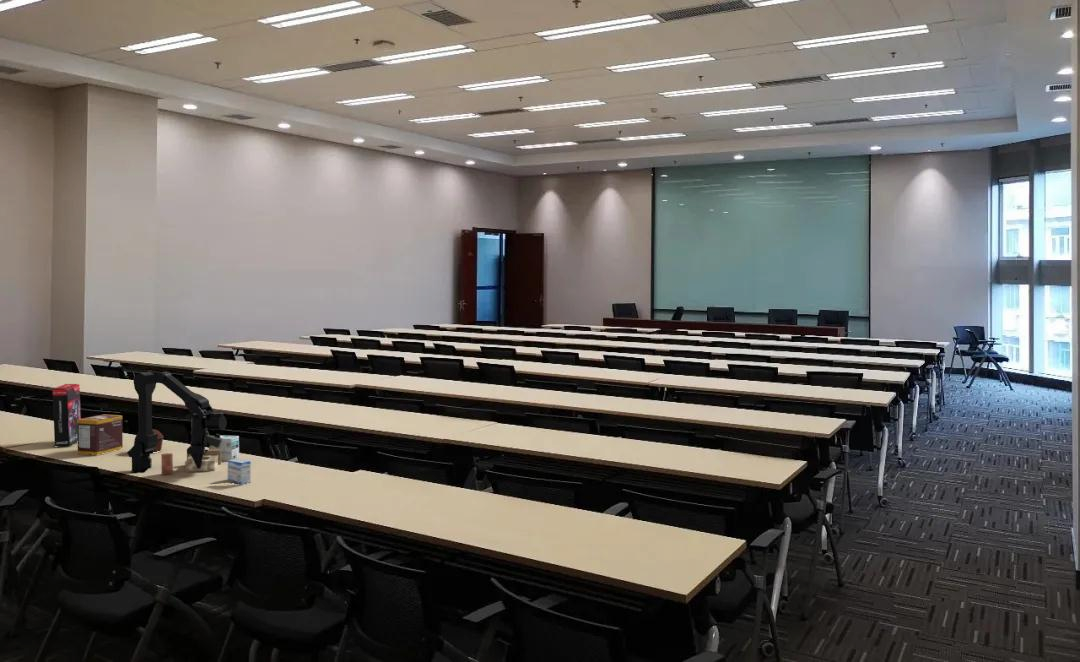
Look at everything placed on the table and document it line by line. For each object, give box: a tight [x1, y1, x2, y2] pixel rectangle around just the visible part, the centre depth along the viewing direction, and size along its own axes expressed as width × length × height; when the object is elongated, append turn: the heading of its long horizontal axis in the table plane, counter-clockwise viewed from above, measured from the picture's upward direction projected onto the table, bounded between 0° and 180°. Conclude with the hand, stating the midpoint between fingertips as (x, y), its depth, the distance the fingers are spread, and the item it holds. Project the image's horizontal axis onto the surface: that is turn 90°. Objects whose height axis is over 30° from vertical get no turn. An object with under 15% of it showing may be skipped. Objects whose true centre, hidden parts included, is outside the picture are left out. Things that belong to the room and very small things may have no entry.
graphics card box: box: [52, 383, 82, 447], centre depth 372 cm, size 17×7×27 cm, turn 13°
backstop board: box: [186, 449, 222, 466], centre depth 323 cm, size 13×20×7 cm, turn 15°
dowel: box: [161, 452, 174, 476], centre depth 314 cm, size 4×4×9 cm
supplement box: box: [77, 413, 124, 456], centre depth 357 cm, size 10×15×16 cm
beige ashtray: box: [184, 455, 218, 473], centre depth 325 cm, size 11×11×4 cm
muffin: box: [152, 428, 165, 452], centre depth 359 cm, size 12×11×10 cm
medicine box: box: [227, 458, 252, 486], centre depth 307 cm, size 8×4×9 cm, turn 62°
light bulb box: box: [208, 435, 240, 462], centre depth 343 cm, size 11×7×11 cm, turn 84°
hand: (199, 468), depth 319 cm, fingers closed
